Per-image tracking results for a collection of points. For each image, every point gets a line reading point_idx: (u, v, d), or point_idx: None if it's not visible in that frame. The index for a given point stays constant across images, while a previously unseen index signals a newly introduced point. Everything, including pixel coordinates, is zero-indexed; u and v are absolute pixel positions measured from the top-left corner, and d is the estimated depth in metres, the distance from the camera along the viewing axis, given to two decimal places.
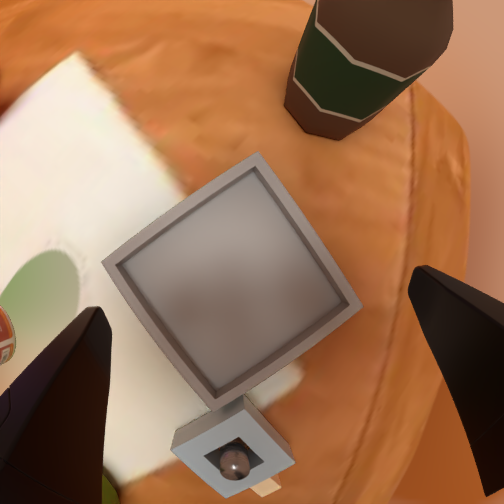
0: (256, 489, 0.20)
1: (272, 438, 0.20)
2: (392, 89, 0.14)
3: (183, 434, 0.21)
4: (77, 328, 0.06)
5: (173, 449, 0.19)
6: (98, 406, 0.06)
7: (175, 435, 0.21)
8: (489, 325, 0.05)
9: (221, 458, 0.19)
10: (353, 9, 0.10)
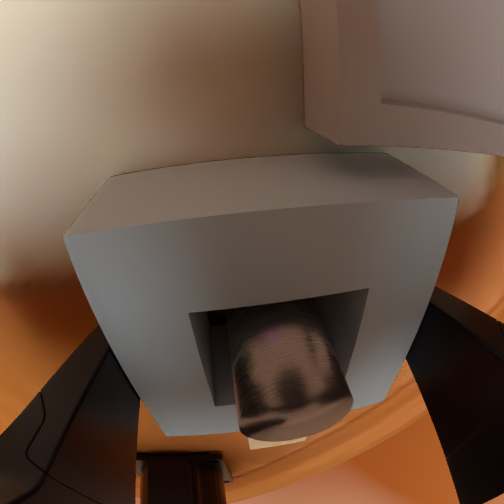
0: None
1: None
2: None
3: (140, 190, 0.06)
4: None
5: (79, 239, 0.04)
6: (132, 407, 0.06)
7: (106, 188, 0.06)
8: (463, 335, 0.05)
9: (262, 352, 0.05)
10: None
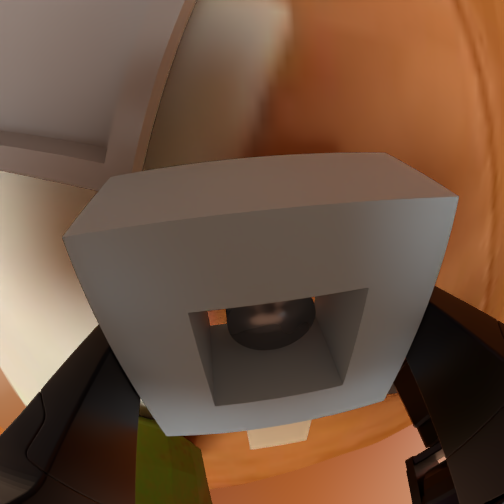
0: (257, 436, 0.08)
1: None
2: None
3: (139, 190, 0.06)
4: None
5: (78, 239, 0.04)
6: (132, 407, 0.06)
7: (106, 188, 0.06)
8: (463, 336, 0.05)
9: None
10: None
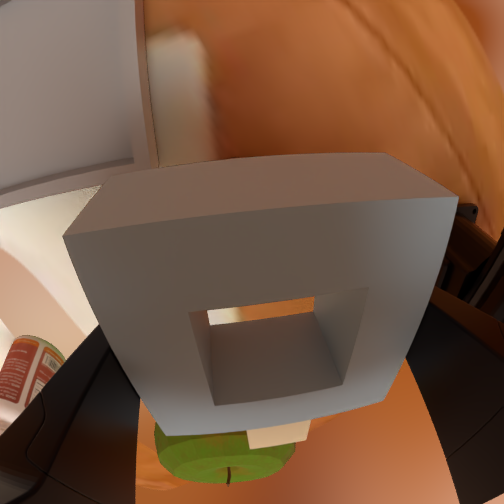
0: (256, 436, 0.08)
1: None
2: None
3: (140, 190, 0.06)
4: None
5: (79, 238, 0.04)
6: (132, 407, 0.06)
7: (106, 187, 0.06)
8: (463, 336, 0.05)
9: None
10: None
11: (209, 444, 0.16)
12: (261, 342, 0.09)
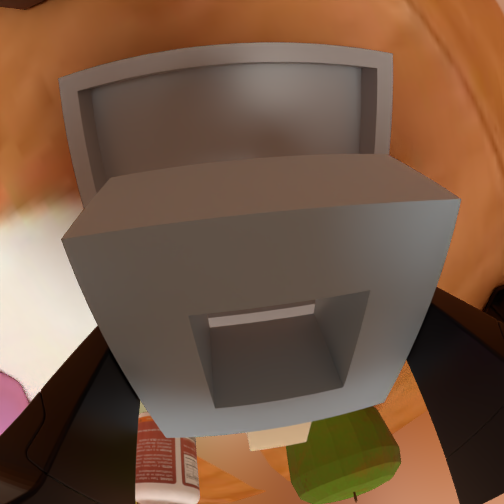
0: (257, 438, 0.08)
1: None
2: None
3: (139, 192, 0.06)
4: None
5: (78, 241, 0.04)
6: (132, 407, 0.06)
7: (106, 189, 0.06)
8: (463, 336, 0.05)
9: None
10: None
11: (357, 476, 0.19)
12: (261, 344, 0.09)
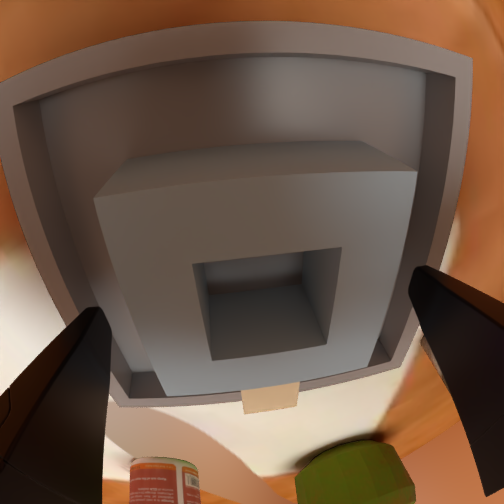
0: (250, 398, 0.10)
1: None
2: None
3: (154, 167, 0.07)
4: (77, 328, 0.06)
5: (107, 199, 0.06)
6: (98, 406, 0.06)
7: (125, 166, 0.07)
8: (489, 325, 0.05)
9: (446, 386, 0.13)
10: None
11: None
12: (254, 308, 0.10)
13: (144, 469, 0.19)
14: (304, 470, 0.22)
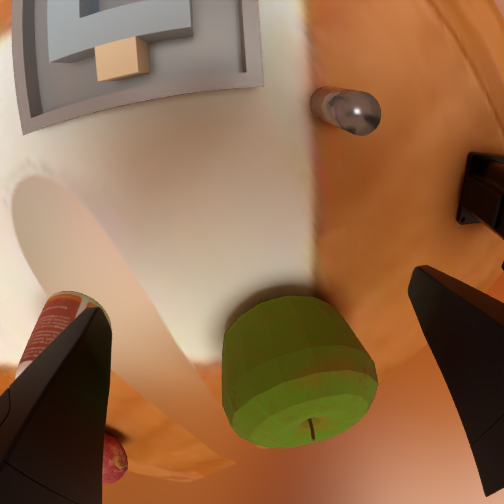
0: (100, 55, 0.10)
1: None
2: None
3: None
4: (77, 328, 0.06)
5: None
6: (98, 406, 0.06)
7: None
8: (489, 325, 0.05)
9: (334, 119, 0.14)
10: None
11: (305, 385, 0.16)
12: None
13: (51, 301, 0.20)
14: (228, 330, 0.23)
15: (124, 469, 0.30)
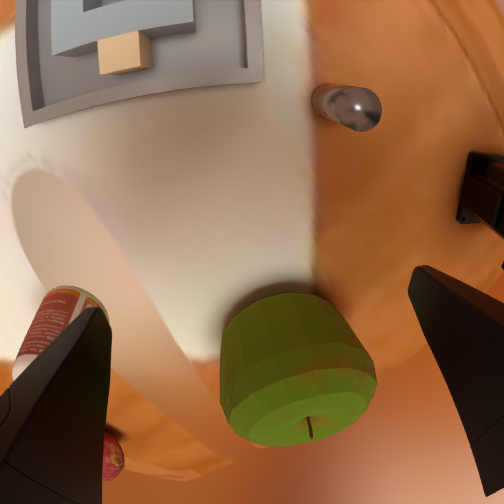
0: (103, 49, 0.10)
1: None
2: None
3: None
4: (77, 328, 0.06)
5: None
6: (98, 406, 0.06)
7: None
8: (489, 325, 0.05)
9: (335, 115, 0.14)
10: None
11: (303, 382, 0.16)
12: None
13: (49, 295, 0.19)
14: (226, 327, 0.23)
15: (121, 467, 0.30)
